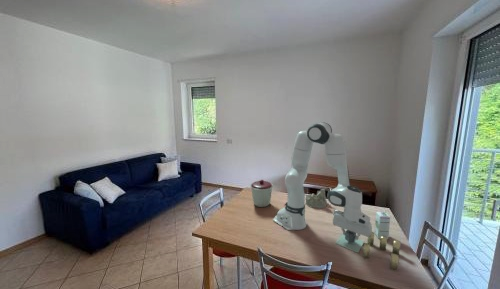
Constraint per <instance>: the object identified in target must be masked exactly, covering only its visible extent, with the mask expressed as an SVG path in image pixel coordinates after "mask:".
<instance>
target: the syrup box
mask: <svg viewBox="0 0 500 289" xmlns="http://www.w3.org/2000/svg"><path fill="white" fill-rule="evenodd" d="M390 223H391V216H390V214H389V213H387V212H386V211H376V212H375V224H374V225H375V226H374V235H375V236H376V237H377V238H378V239H380V236H386V237H387V240H389V238H390V237H389V235H390Z"/></svg>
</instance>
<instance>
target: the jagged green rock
mask: <svg viewBox="0 0 500 289" xmlns="http://www.w3.org/2000/svg"><path fill="white" fill-rule="evenodd" d="M304 204H305V206H308V207H309V208H313V209H314V208H315V209H324V208H326V207H327V204H328V202H327V197H326V190H325V188H321V189H320V190H317V192H316V194H315V193H309V195H308V194H306V195H305V202H304Z"/></svg>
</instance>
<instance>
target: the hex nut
mask: <svg viewBox="0 0 500 289" xmlns="http://www.w3.org/2000/svg"><path fill="white" fill-rule="evenodd" d="M345 231H346V232H345V239H346V240H347V241H348V242H353V243H354V242H355V241H356V239H355V236H356V235H357V233H355V232H353V231H350V230H347V229H346V230H345Z"/></svg>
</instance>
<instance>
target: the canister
mask: <svg viewBox="0 0 500 289" xmlns="http://www.w3.org/2000/svg"><path fill="white" fill-rule="evenodd" d="M273 186H274V184H273V183H272V182H270V181H267V180H264V179H259V180H257V181H254V182H252V183H251V184H250V188H251V195H252V201H253V204H254V205H255V206H256V207H259V208H266V207H268V206H269V205H270V203H271V198H272V190H273Z"/></svg>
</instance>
